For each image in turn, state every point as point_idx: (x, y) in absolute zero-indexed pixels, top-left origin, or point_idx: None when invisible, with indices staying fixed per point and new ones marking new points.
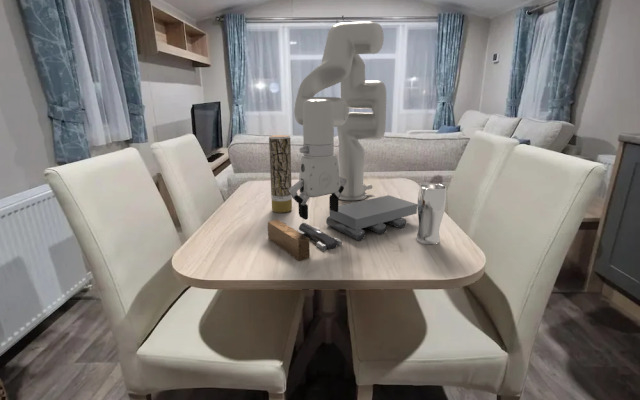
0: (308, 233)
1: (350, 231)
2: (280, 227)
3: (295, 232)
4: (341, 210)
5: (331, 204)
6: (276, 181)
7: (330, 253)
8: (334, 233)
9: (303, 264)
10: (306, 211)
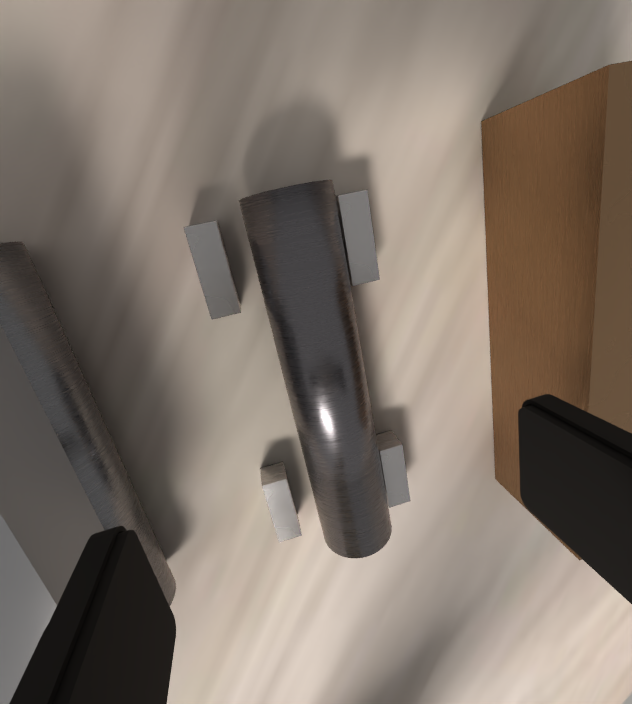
0: (374, 426)
1: (46, 338)
2: None
3: (619, 273)
4: (9, 636)
5: (149, 671)
6: None
7: (327, 124)
8: (165, 443)
9: (554, 43)
10: (627, 438)
